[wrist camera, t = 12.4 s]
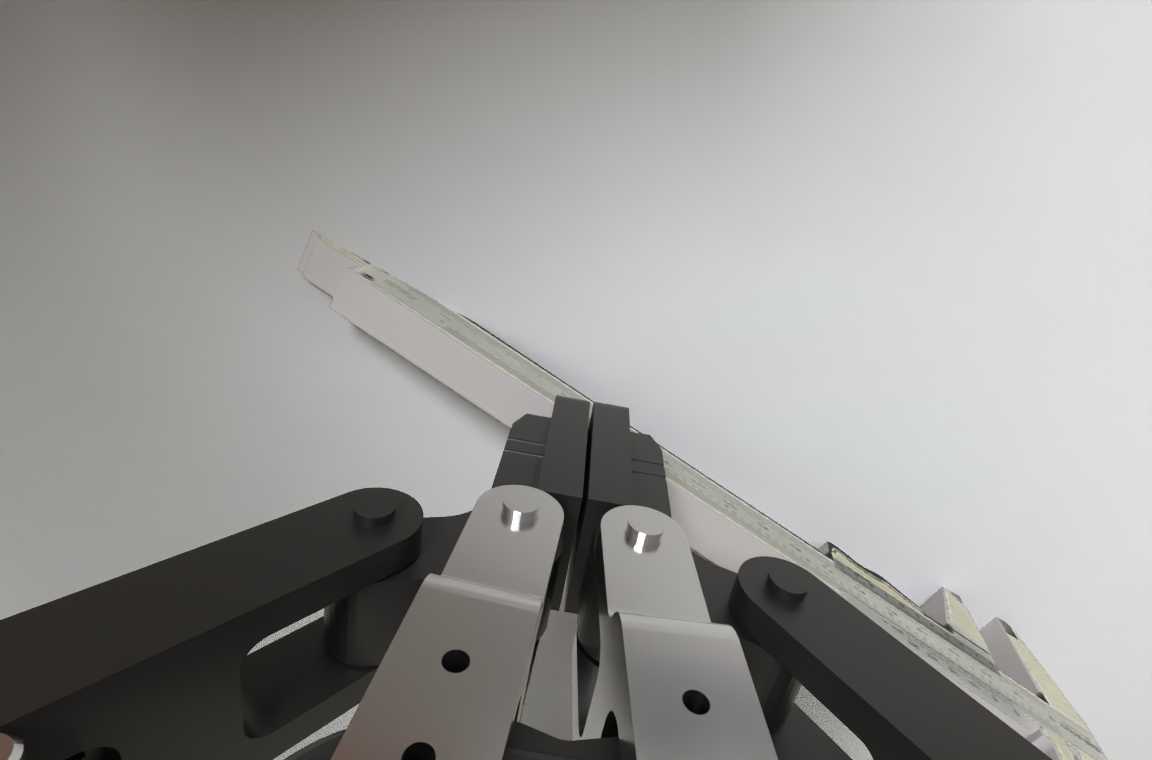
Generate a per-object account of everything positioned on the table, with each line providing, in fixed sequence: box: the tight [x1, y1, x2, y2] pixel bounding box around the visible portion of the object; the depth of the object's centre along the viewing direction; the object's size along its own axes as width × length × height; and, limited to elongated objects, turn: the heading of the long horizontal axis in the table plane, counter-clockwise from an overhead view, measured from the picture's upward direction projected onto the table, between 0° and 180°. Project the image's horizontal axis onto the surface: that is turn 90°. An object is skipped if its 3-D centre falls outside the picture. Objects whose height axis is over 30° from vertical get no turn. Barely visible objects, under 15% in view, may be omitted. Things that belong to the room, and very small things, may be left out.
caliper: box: [297, 231, 1108, 760], centre depth 13 cm, size 20×1×6 cm, turn 60°
